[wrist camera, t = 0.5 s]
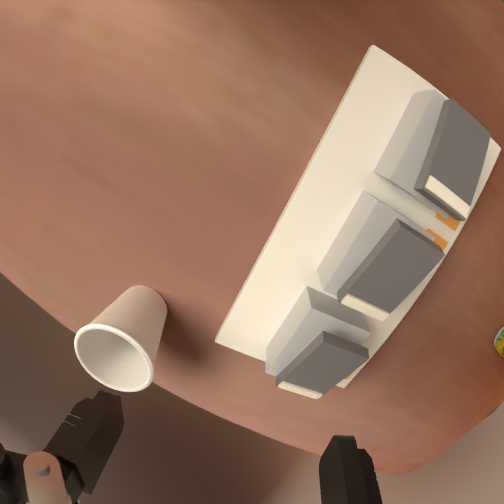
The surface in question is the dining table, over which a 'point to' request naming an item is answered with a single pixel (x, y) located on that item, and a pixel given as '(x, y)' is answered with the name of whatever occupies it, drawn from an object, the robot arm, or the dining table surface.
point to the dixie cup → (124, 340)
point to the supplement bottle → (500, 342)
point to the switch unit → (346, 219)
